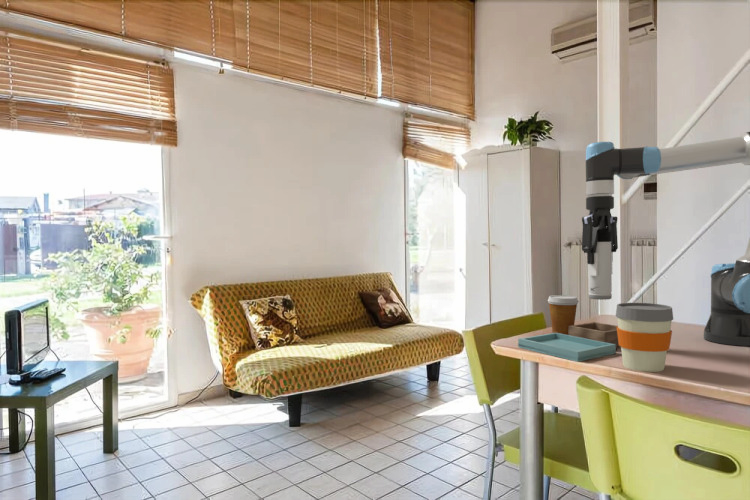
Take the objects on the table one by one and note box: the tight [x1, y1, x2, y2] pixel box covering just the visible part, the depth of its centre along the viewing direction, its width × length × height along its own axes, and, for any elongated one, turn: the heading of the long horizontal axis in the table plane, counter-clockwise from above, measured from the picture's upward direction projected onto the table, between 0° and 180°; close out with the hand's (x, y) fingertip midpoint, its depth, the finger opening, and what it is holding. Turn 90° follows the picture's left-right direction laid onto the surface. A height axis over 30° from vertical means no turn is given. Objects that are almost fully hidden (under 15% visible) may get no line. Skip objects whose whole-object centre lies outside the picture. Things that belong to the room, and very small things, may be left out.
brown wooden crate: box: [569, 321, 621, 349], centre depth 153 cm, size 12×12×5 cm
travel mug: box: [587, 230, 613, 301], centre depth 152 cm, size 6×7×20 cm
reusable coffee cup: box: [615, 302, 674, 373], centre depth 127 cm, size 13×12×15 cm
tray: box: [517, 332, 617, 362], centre depth 146 cm, size 20×16×2 cm
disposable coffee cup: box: [547, 294, 579, 335], centre depth 169 cm, size 10×10×12 cm
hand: (600, 274), depth 153 cm, fingers closed on travel mug, 6 cm apart
